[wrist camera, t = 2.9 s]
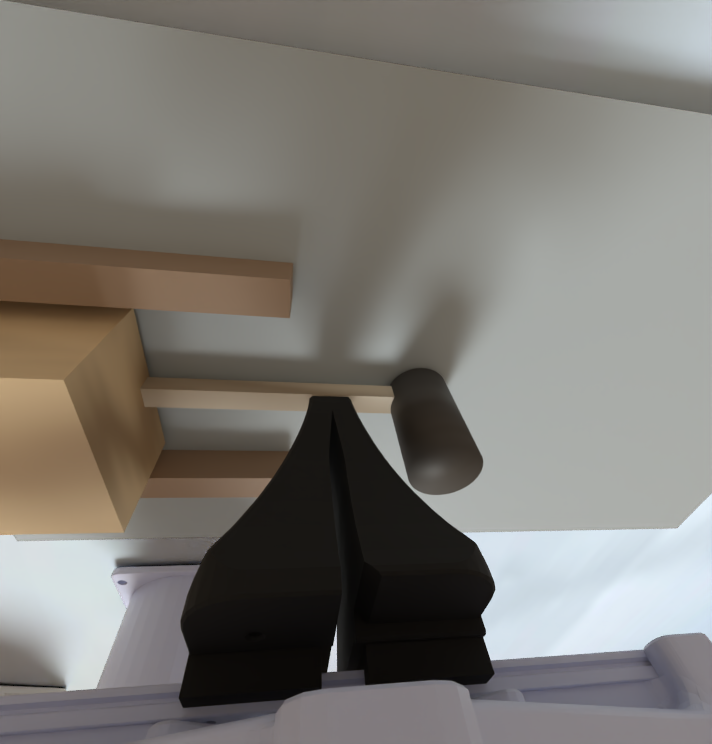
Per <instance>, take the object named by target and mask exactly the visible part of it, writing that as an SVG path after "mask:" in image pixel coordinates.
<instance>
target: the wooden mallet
mask: <svg viewBox="0 0 712 744" xmlns="http://www.w3.org/2000/svg"><path fill="white" fill-rule="evenodd" d="M312 396H336V397H349V398H350V399H351V401H352V404H353V406H354V408H355V410H356V412H357V413H388V414H391V415H392V419H393V423H394V427H395V431H396V435H397V438H398V442H399V446H400V450H401V454H402V458H403V461H404V465H405V469H406V473H407V477H408V480H409V483H410V484H411V486H412V487H413V488H414V489H416V490H417V491H419V492H421V493H424V494H429V495H444V494H450V493H453V492H456V491H459V490H461V489H463V488H465V487H467V486H468V485H470V484H471V483H472V482H473V481H474V480H475V479H476V478H477V477H478V476H479V474H480V473H481V471H482V468H483V457H482V455H481V453H480V451H479V449H478V447H477V445H476V443H475V441H474V439H473V437H472V435H471V433H470V431H469V429H468V427H467V425H466V423H465V421H464V419H463V417H462V415H461V413H460V411H459V409H458V407H457V405H456V403H455V401H454V399H453V397H452V395H451V393H450V391H449V389H448V387H447V385H446V383H445V381H444V379H443V377H442V376H441V375H440V374H439V373H437V372H436V371H434V370H431V369H427V368H415V369H411V370H408V371H406V372H403V373H402V374H400V375H399V376H397V377H396V378H395V379H394V380H393V381H392V383H391V384H390V386H376V385H349V384H323V383H296V382H269V381H242V380H215V379H188V378H162V377H150V376H149V372H148V368H147V363H146V359H145V355H144V351H143V346H142V342H141V338H140V334H139V330H138V325H137V321H136V317H135V313H134V309H130V308H113V307H97V306H80V305H64V304H48V303H31V302H15V301H0V535H22V534H80V533H124V532H125V530H126V527H127V525H128V523H129V521H130V519H131V517H132V514H133V512H134V510H135V508H136V506H137V504H138V501H139V499H140V497H141V495H142V493H143V491H144V488H145V486H146V484H147V482H148V480H149V478H150V475H151V473H152V471H153V469H154V467H155V464H156V462H157V460H158V458H159V456H160V454H161V451H162V449H163V447H164V445H165V439H164V435H163V431H162V427H161V422H160V418H159V414H158V410H157V407H163V408H200V409H238V410H275V411H307V409H308V405H309V398H311V397H312Z"/></svg>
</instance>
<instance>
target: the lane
mask: <svg viewBox="0 0 712 744" xmlns="http://www.w3.org/2000/svg"><path fill="white" fill-rule="evenodd" d="M0 301H15V302H31V303H48V304H64V305H80V306H97V307H113V308H130V309H134V313H135V317H136V321H137V325H138V330H139V334H140V338H141V342H142V346H143V351H144V355H145V359H146V363H147V368H148V372H149V376H150V377H162V378H188V379H215V380H242V381H269V382H296V383H323V384H349V385H376V386H390V384H391V383H392V381H393V380H394V379H395V378H396V377H397V376H399V375H400V374H402V373H403V372H406V371H408V370H411V369H415V368H427V369H431V370H434V371H436V372H437V373H439V374H440V375H441V376H442V377H443V379H444V381H445V383H446V385H447V387H448V389H449V391H450V393H451V395H452V397H453V399H454V401H455V403H456V405H457V407H458V409H459V411H460V413H461V415H462V417H463V419H464V421H465V423H466V425H467V427H468V429H469V431H470V433H471V435H472V437H473V439H474V441H475V443H476V445H477V447H478V449H479V451H480V453H481V455H482V457H483V468H482V471H481V473H480V474H479V476H478V477H477V478H476V479H475V480H474V481H473V482H472V483H471V484H470V485H468V486H467V487H465V488H463V489H461V490H459V491H456V492H453V493H450V494H444V495H429V494H424V493H421V492H419V491H417V490H416V489H414V488H413V487H412V486H411V484H410V483H409V480H408V477H407V473H406V469H405V465H404V461H403V458H402V454H401V450H400V446H399V442H398V438H397V435H396V431H395V427H394V423H393V419H392V415H391V414H388V413H357V414H358V416H359V418H360V420H361V422H362V424H363V425H364V427H365V429H366V430H367V432H368V434H369V435H370V437H371V438H372V440H373V442H374V443H375V445H376V446H377V448H378V449H379V450H380V452H381V453H382V455H383V456H384V457H385V459H386V460H387V461H388V463H389V464H390V465H391V467H392V468H393V469H394V470H395V471H396V473H397V474H398V475H399V476H400V477H401V478H402V480H403V481H404V482H405V483H406V484H407V485H408V486H409V487H410V488H411V489H412V490H413V491H414V492H415V493H416V494H417V495H418V496H419V497H420V498H421V499H422V500H423V501H424V502H425V503H426V504H427V505H428V506H429V507H430V508H431V509H433V510H434V511H435V512H436V513H437V514H438V515H440V516H441V517H442V518H443V519H444V520H446V521H447V522H448V523H449V524H451V525H452V526H453V527H455V528H456V529H457V530H459V531H460V532H513V531H564V530H615V529H667V528H678V527H679V526H680V525H681V524H682V523H683V522H684V521H685V520H686V519H687V518H688V517H689V516H690V515H691V514H692V513H693V511H694V510H695V509H696V508H697V507H698V506H699V505H700V504H701V503H702V502H703V501H704V500H705V499H706V498H707V497H708V496H709V495H710V494H711V493H712V115H711V114H705V113H699V112H693V111H686V110H680V109H674V108H668V107H662V106H655V105H649V104H643V103H637V102H631V101H624V100H618V99H612V98H606V97H600V96H593V95H587V94H581V93H575V92H569V91H562V90H556V89H550V88H544V87H538V86H531V85H525V84H519V83H513V82H507V81H500V80H494V79H488V78H482V77H476V76H469V75H463V74H457V73H451V72H445V71H439V70H432V69H426V68H420V67H414V66H408V65H401V64H395V63H389V62H383V61H377V60H370V59H364V58H358V57H352V56H346V55H339V54H333V53H327V52H321V51H315V50H308V49H302V48H296V47H290V46H284V45H277V44H271V43H265V42H259V41H253V40H246V39H240V38H234V37H228V36H222V35H215V34H209V33H203V32H197V31H191V30H184V29H178V28H172V27H166V26H160V25H153V24H147V23H141V22H135V21H129V20H122V19H116V18H110V17H104V16H98V15H91V14H85V13H79V12H73V11H67V10H60V9H54V8H48V7H42V6H36V5H29V4H23V3H17V2H11V1H5V0H0ZM157 410H158V414H159V418H160V422H161V427H162V431H163V435H164V439H165V445H164V447H163V449H162V451H161V454H160V456H159V458H158V460H157V462H156V464H155V467H154V469H153V471H152V473H151V475H150V478H149V480H148V482H147V484H146V486H145V488H144V491H143V493H142V495H141V497H140V499H139V501H138V504H137V506H136V508H135V510H134V512H133V514H132V517H131V519H130V521H129V523H128V525H127V527H126V530H125V532H124V533H80V534H22V535H13V536H14V537H15V539H16V540H17V541H51V540H102V539H154V538H205V537H222V536H223V535H224V534H225V533H226V532H227V531H228V530H229V529H230V528H231V527H232V526H233V525H234V524H235V523H236V522H237V521H238V520H239V518H240V517H241V516H242V515H243V514H244V513H245V512H246V511H247V509H248V508H249V507H250V506H251V505H252V504H253V503H254V501H255V500H256V499H257V498H258V496H259V495H260V494H261V493H262V491H263V490H264V489H265V487H266V486H267V485H268V483H269V482H270V481H271V479H272V478H273V476H274V475H275V473H276V472H277V470H278V469H279V467H280V466H281V464H282V462H283V461H284V459H285V458H286V456H287V454H288V452H289V450H290V448H291V447H292V445H293V443H294V441H295V439H296V437H297V435H298V433H299V430H300V428H301V426H302V423H303V421H304V418H305V415H306V412H307V411H275V410H238V409H200V408H163V407H157Z"/></svg>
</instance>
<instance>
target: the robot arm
mask: <svg viewBox="0 0 712 744" xmlns="http://www.w3.org/2000/svg"><path fill="white" fill-rule="evenodd" d="M111 578H112V580H113V582H114V584H115V587H116V589H117V591H118V593H119V595H120V597H121V599H122V601H123V603H124V605H125V607H126V609H127V610H126V612H125V615H124V618H123V620H122V623H121V625H120V628H119V631H118V633H117V636H116V638H115V641H114V644H113V646H112V649H111V651H110V654H109V657H108V659H107V662H106V664H105V667H104V670H103V672H102V675H101V677H100V680H99V683H98V685H97V688H96V689H90V690H76V691H62V692H48V693H34V694H20V695H6V696H0V744H712V643H711V641H710V640H709V639H708V637H707V636H706V635H705V634H702V633H689V634H674V635H666V636H661V637H658V638H656V639H654V640H652V641H651V642H649V643H648V644H647V645H646V646H645V647H644V650H632V651H618V652H604V653H591V654H577V655H563V656H549V657H535V658H521V659H507V660H493V661H490V657H489V654H488V651H487V648H486V645H485V642H484V639H483V636H485V635H486V630H485V627H484V624H483V621H482V618H481V614H482V613H483V611H484V610H485V608H486V607H487V605H488V603H489V602H490V600H491V598H492V596H493V594H494V591H495V584H494V580H493V578H492V575H491V573H490V570H489V568H488V566H487V564H486V562H485V560H484V558H483V556H482V554H481V552H480V550H479V548H478V546H477V544H476V543H475V542H474V541H472V540H471V539H470V538H468V537H467V536H466V535H464V534H463V533H462V532H460V531H459V530H457V529H456V528H455V527H453V526H452V525H451V524H449V523H448V522H447V521H446V520H444V519H443V518H442V517H441V516H440V515H438V514H437V513H436V512H435V511H434V510H433V509H431V508H430V507H429V506H428V505H427V504H426V503H425V502H424V501H423V500H422V499H421V498H420V497H419V496H418V495H417V494H416V493H415V492H414V491H413V490H412V489H411V488H410V487H409V486H408V485H407V484H406V483H405V482H404V481H403V480H402V478H401V477H400V476H399V475H398V474H397V473H396V471H395V470H394V469H393V468H392V467H391V465H390V464H389V463H388V461H387V460H386V459H385V457H384V456H383V455H382V453H381V452H380V450H379V449H378V448H377V446H376V445H375V443H374V442H373V440H372V438H371V437H370V435H369V434H368V432H367V430H366V429H365V427H364V425H363V424H362V422H361V420H360V418H359V416H358V414H357V412H356V410H355V408H354V406H353V404H352V401H351V399H350V398H349V397H336V396H312V397H311V398H309V405H308V409H307V412H306V415H305V418H304V421H303V423H302V426H301V428H300V430H299V433H298V435H297V437H296V439H295V441H294V443H293V445H292V447H291V448H290V450H289V452H288V454H287V456H286V458H285V459H284V461H283V462H282V464H281V466H280V467H279V469H278V470H277V472H276V473H275V475H274V476H273V478H272V479H271V481H270V482H269V483H268V485H267V486H266V487H265V489H264V490H263V491H262V493H261V494H260V495H259V496H258V498H257V499H256V500H255V501H254V503H253V504H252V505H251V506H250V507H249V508H248V509H247V511H246V512H245V513H244V514H243V515H242V516H241V517H240V518H239V520H238V521H237V522H236V523H235V524H234V525H233V526H232V527H231V528H230V529H229V530H228V531H227V532H226V533H225V534H224V535H223V536H222V537H221V538H220V539H219V540H218V541H217V542H216V543H215V544H214V545H213V546H212V547H211V548H210V549H209V550H208V551H207V553H206V555H205V557H204V559H203V560H202V562H201V564H200V565H179V566H144V567H119V568H116V569H114V571H113V573H112V575H111ZM336 625H337V672H327V669H328V663H329V658H330V652H331V646H333V642H334V637H335V631H336Z"/></svg>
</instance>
